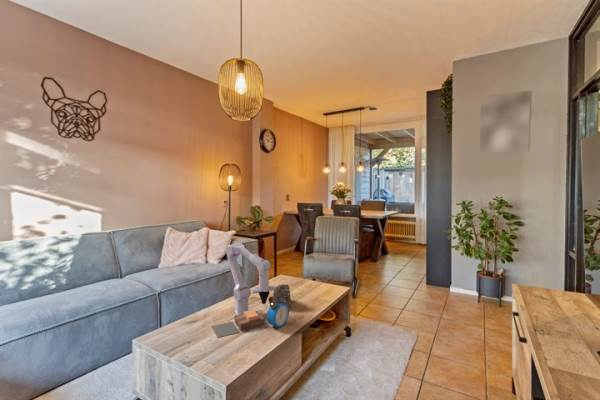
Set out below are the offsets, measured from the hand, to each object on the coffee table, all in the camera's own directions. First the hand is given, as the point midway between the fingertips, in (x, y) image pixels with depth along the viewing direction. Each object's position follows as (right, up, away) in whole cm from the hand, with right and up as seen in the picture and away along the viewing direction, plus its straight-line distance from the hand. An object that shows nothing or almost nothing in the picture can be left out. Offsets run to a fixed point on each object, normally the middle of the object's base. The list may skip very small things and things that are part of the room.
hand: (263, 303), depth 174 cm
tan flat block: (-8, -11, -4) cm, 14 cm away
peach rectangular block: (-7, -7, -4) cm, 10 cm away
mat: (-20, -11, -11) cm, 25 cm away
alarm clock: (+9, -11, -5) cm, 15 cm away
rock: (+8, -10, +24) cm, 27 cm away
